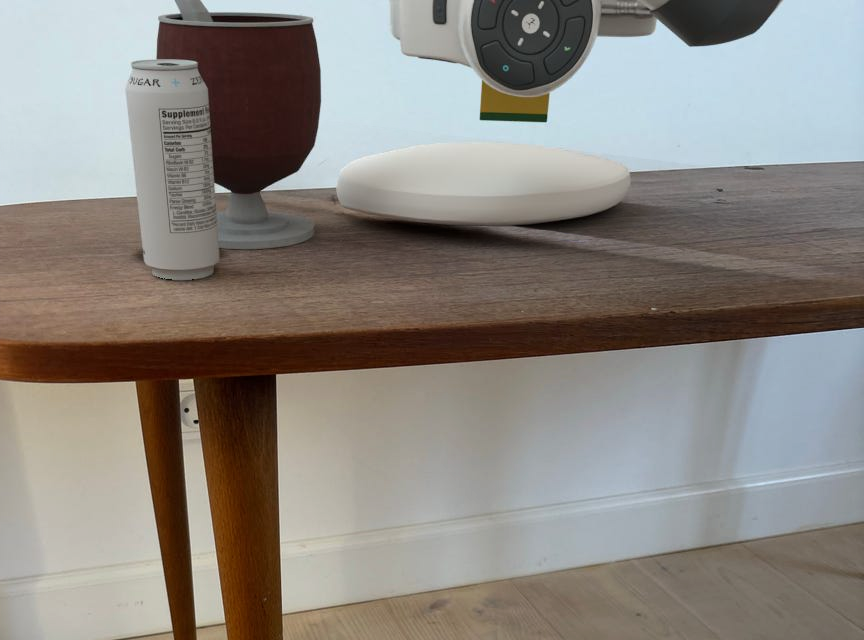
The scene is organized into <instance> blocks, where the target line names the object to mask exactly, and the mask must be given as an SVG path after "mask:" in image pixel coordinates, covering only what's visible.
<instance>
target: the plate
mask: <svg viewBox="0 0 864 640" xmlns="http://www.w3.org/2000/svg"><path fill="white" fill-rule="evenodd" d="M630 188H631V172H630V170H629V169H628V167H627V166H625V165H624V164H622V163H620V162H617V161H615V160H613V159H610V158H608V157H604V156H603V157H602V156H598V155H594V154H588V153H585V152H579V151H575V150H569V149H566V148H560V147H552V146H544V145H536V144H528V143H516V142H500V141H499V142H497V141H471V142H469V141H468V142H460V141H459V142H438V143H430V144H420V145H413V146H409V147H408V146H407V147H404V148H403V147H402V148H399V149H394V150H389V151H384V152H379V153H373V154H370V155H366V156H362V157H359V158H357V159H355V160H352V161H350V162H348V163H347V164H346V165H345V166H343V167H342V168H341V169H340V171H339V175H338V179H337V181H336V187H335V189H336V191H335V192H336V196H337V200H338V202H339V205H340V206H341V207H342V208H344V209H347V210H349V211H353V212H357V213H361V214H365V215H370V216H375V217H379V218H387V219H394V220H395V219H396V220H402V221H410V222H418V223H425V224H426V223H427V224H437V225H449V226H463V227H465V226H466V227H468V226H469V227H471V226H472V227H513V226H526V225H527V226H528V225H536V224H537V225H538V224H544V223H550V222H558V221H562V220H565V221H566V220H571V219H577V218H582V217H587V216H590V215H594V214H597V213H601V212H604V211H606V210H608V209H611V208H612V207H614V206H617V205H618V204H620V202H622V200H624V199H625V198H626V196H627V195H628V193H629V190H630Z"/></svg>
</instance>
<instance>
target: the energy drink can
mask: <svg viewBox="0 0 864 640" xmlns="http://www.w3.org/2000/svg"><path fill="white" fill-rule="evenodd" d="M130 66H131V72H130V75H129V78H128V80H127V83H126V86H125V88H124V89H125V98H126V99H125V100H126V107H127V108H126V109H127V117H128V125H129V136H130V146H131V153H132V155H131V156H132V162H133V172H134V181H135V192H136V200H137V207H138V208H137V209H138V218H139V227H140V236H141V245H142V247H141V248H142V257H143V262H144V264H145V265H146V266H148V267H149V268H150V269H151V274H152V275H153V276H154V275H155V276H154V277H156V276H157V277H156V278H158V277H160V278H159V279H161V278H163V279H162V280H166V279H172V280H171V281H192V279H194V280H199V279H200V280H201V279H204V278H207V277H210V276H211V275H213V274H214V272H215V271H214V270H215V269H214V267H215V266H216V265H217V264H218V263H219V262H220V258H221V257H220V248H219V243H218V229H217V214H216V212H217V203H216V202H217V201H216V188H215V187H216V186H215V183H214V171H213V157H212V143H211V129H210V114H209V100H208V88H207V86H206V84H205V83H204V81H203V79H202V77H201V75H200V74H199V72H198V69H197V66H198V63H197V62H195V61H189V60H174V59H140V60H134V61H131V62H130ZM164 278H165V279H164Z"/></svg>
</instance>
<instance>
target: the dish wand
mask: <svg viewBox="0 0 864 640" xmlns="http://www.w3.org/2000/svg"><path fill="white" fill-rule="evenodd" d="M550 94H551V92H549V93H547V94H544V95H541V96H537V97H519V96H513V95H508V94H505V93H502V92H499V91H497V90H495V89H493V88H492V87H490V86H489V85H487V84H486V83H485V82H484V81H483V80H482V79H481V87H480V106H479V108H480V109H479V121H487V122H489V121H490V122H492V121H493V122H516V123H517V122H519V123H520V122H522V123H524V122H525V123H547V122H548V116H549V115H548V114H549V104H550Z"/></svg>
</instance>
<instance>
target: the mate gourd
mask: <svg viewBox="0 0 864 640" xmlns="http://www.w3.org/2000/svg"><path fill="white" fill-rule="evenodd" d="M174 2H175V4H176V6H177V9H178V11H179V13H169V14H161V15H158V17H157V20H158V21H159V22H158V29H157V30H158V31H157V38H156V56H155V57H156V59H174V60H189V61H195V62H197V63H198V66H197V69H198V72H199V74H200V75H201V77H202V79H203V81H204V83H205V84H206V86H207V88H208V100H209V114H210V129H211V143H212V157H213V171H214V184H216V185H218V186H220V187H222V188H224V189H226V190H227V191H229V192H230V198H229V200H228V204H227V206H226V210H225V211H224V210H223V211H216V214H217V229H218V243H219V249H227V250H263V249H264V250H265V249H275V248H281V247H282V248H283V247H287V246H292V245H298V244H301V243H304V242H306V241H309V240H310V239H311V238H313V237H314V235H315V222H313V221H312V220H311V219H309V218H307V217H304V216H301V215H298V214H294V213H290V212H289V213H288V212H282V211H273V210H268V209H267V207H266V204H265V202H264V199H263V197H262V194H261V191H263V190H264V189H266V188H268V187H270V186H272V185H273V184H277V183H278V182H280V181H282V180H284V179H286V178H288V177H290V176H292V175H294V174H295V173H298V172H299V171H300V169H301V168H302V166H303V165H304V163H305V162H306V160H307V158H308V157H309V155H310V154H311V152H312V151H313V149H314V147H315V145H316V140H317V136H318V131H319V123H320V115H321V107H322V71H321V70H322V69H321V62H320V57H319V56H320V55H319V49H318V43H317V42H318V41H317V37H316V33H315V28H314V24H313V23H314V18H313V17H312V16H306V15H300V14H289V13H273V12H238V11H237V12H235V11H221V12H220V11H211V12H209V10H208V8H207V7H206V6H205V5H204V3H203V2H202V0H174Z"/></svg>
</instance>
